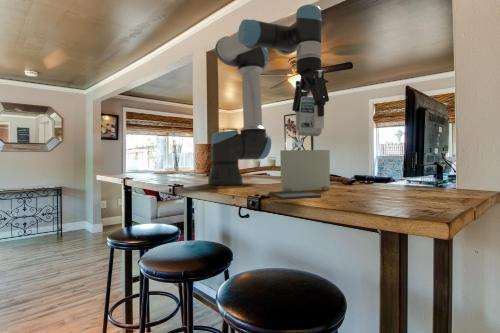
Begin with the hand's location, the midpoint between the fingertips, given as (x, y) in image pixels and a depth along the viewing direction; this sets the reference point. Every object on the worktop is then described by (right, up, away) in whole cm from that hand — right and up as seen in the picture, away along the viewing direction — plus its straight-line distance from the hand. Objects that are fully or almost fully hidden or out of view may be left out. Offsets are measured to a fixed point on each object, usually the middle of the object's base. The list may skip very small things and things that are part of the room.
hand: (308, 130), depth 90 cm
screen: (+1, -20, +11) cm, 23 cm away
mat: (-5, -20, -1) cm, 21 cm away
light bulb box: (0, -2, 0) cm, 2 cm away
